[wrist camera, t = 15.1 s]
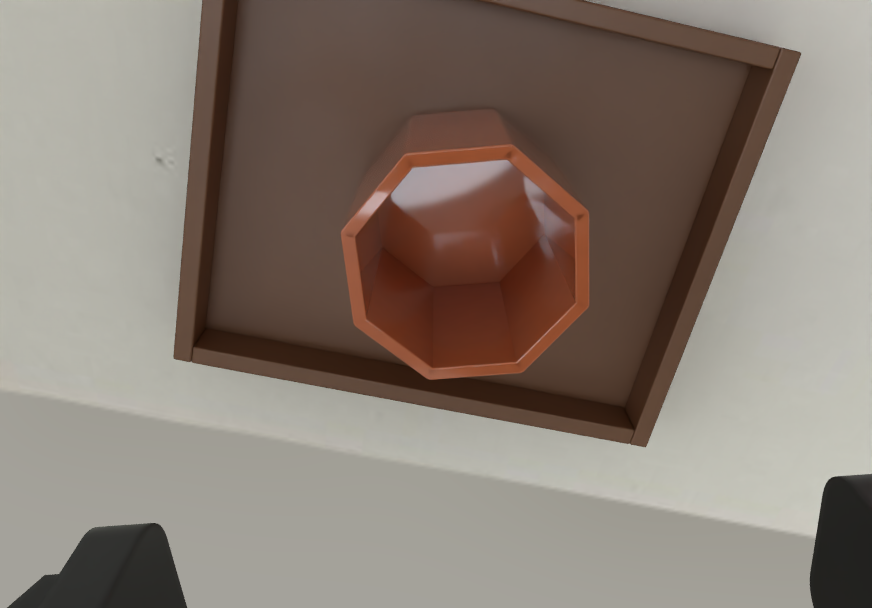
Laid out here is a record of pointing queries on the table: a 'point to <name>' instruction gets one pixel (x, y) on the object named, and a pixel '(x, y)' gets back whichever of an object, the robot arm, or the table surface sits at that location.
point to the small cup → (465, 247)
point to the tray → (460, 91)
